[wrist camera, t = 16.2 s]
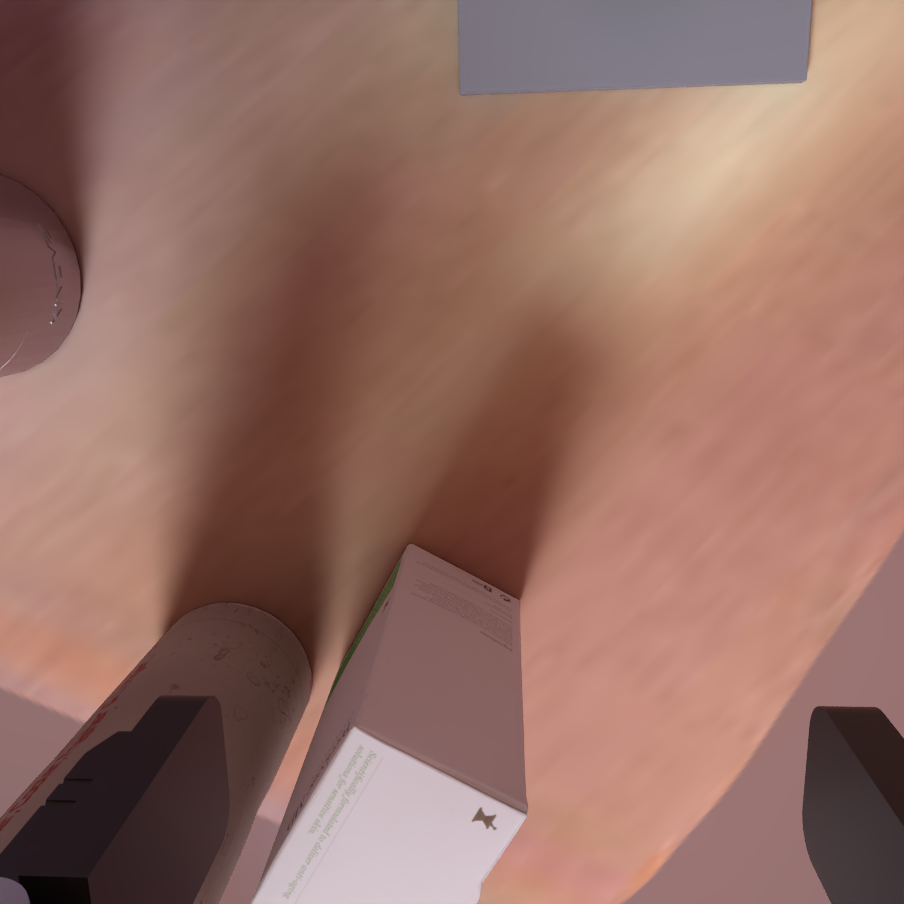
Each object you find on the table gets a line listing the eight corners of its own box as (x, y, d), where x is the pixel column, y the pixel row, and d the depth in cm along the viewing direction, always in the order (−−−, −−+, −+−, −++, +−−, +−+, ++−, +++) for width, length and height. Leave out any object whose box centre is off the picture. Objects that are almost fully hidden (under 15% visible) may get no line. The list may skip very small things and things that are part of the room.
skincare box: (411, 537, 41) (352, 709, 26) (531, 602, 41) (543, 809, 26) (333, 674, 43) (236, 909, 28) (448, 735, 43) (415, 1000, 28)
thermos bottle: (127, 680, 44) (-508, 1397, 16) (217, 570, 42) (-328, 1171, 15) (250, 773, 44) (-161, 1604, 17) (344, 669, 43) (49, 1413, 15)
